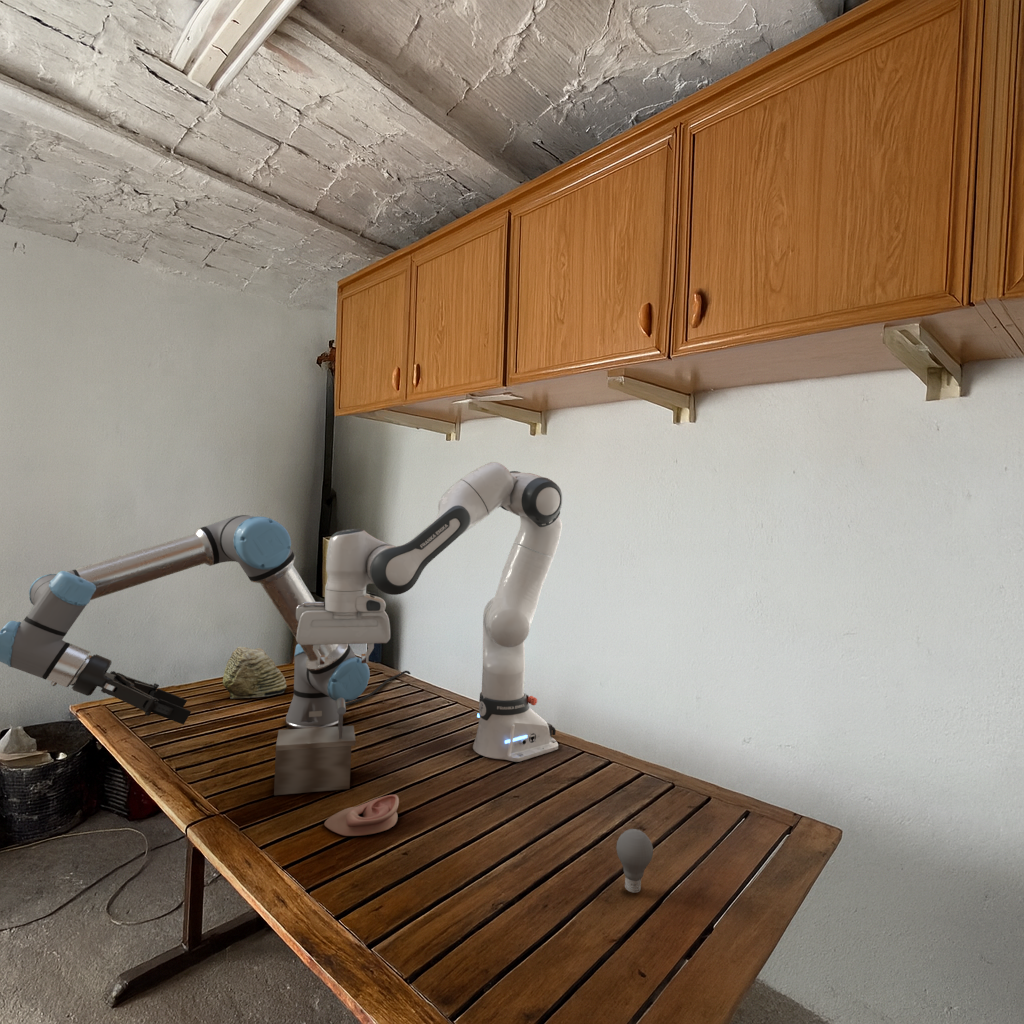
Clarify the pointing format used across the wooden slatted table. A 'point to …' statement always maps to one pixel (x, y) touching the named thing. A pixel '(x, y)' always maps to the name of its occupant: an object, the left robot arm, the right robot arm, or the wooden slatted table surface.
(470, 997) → the wooden slatted table surface
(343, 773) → the chest
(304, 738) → the lid
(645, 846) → the light bulb
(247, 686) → the fossil
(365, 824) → the anatomical model
